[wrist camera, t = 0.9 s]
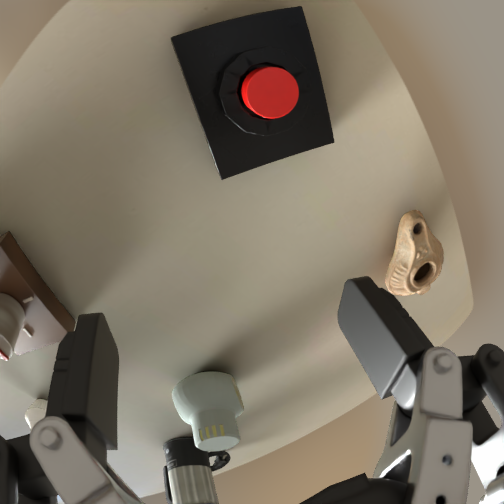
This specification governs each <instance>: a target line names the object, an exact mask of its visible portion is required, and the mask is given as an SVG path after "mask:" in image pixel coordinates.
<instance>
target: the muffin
mask: <svg viewBox="0 0 504 504" xmlns="http://www.w3.org/2000/svg"><path fill="white" fill-rule="evenodd" d="M47 402H48V401H46V400H44V399H37V400H36V401H35V402H34V403H33V404H32V405H31V406H30V407H29V408H28V410H27V411H26V413H25V418H26V421H27V423H28V424H29V427H30V428H31V429H30V431H31V430H32V428H33V427H34V425H35V424H36V423H37V422H38V421H39V420H41V419H43V418H44V417H45V414H46V409H47Z"/></svg>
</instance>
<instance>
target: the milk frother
mask: <svg viewBox="0 0 504 504" xmlns="http://www.w3.org/2000/svg"><path fill="white" fill-rule="evenodd" d="M163 449H164V451H165V457H166V462H167V466H164V468H163V471H164V483H165V493H166V499H167V503H168V504H219V502H218V498H217V494H216V489H215V485H214V480H213V476H212V471H215V470H218V469H220V468H222V467H224V466H225V465H226V464H227V463H228V462H229V461H230V455H229V454H228V453H227V452H224V451H213V452H208V451H203V450H200V449H199V448H197V447H196V446H195V441H194V438H178V439H173V440H170V441H168V442H166V443H165V444H164V445H163ZM212 456H217V457H216V460H215V461H214V462H215V463H214V464H213V466H210V462H209V457H212Z"/></svg>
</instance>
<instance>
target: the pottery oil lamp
mask: <svg viewBox="0 0 504 504" xmlns="http://www.w3.org/2000/svg"><path fill="white" fill-rule="evenodd" d="M443 254H444V252H443V248H442V245H441V243H440V241H439V240H438V239H436V238H435V237H434V236H433V234H432V233H431V231H430V230H429V228H428V226H427V224H426V222H425V220H424V218H423V215H422V213H421V212H420V211H417V210H412V211H409V212H407V213H406V214H404V215H403V217H402V218H401V221H400V223H399V227H398V233H397V239H396V245H395V249H394V253H393V256H392V259H391V261H390V264H389V267H388V270H387V273H386V278H385V284H386V286H387V288H388V290H389V291H390V292H391V293H392V294H395V295H400V296H402V295H403V296H406V295H411V294H415V293H416V292H417V293H418V294H419V295H423V294H424V293H426V292H427V291H429V289H430V284H431V283H432V282H434V281H435V280H436V278H437V277H438V276H439V274H440V272H441V269H442V264H443V259H444V256H443Z"/></svg>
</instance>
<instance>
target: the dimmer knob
mask: <svg viewBox="0 0 504 504" xmlns="http://www.w3.org/2000/svg"><path fill="white" fill-rule="evenodd" d="M24 319H25V313H24V310H23V308H22V306H21V305H20V303H19V302H18V301H17V300H16V299H14V298H13V297H11V296H9V295H7V294H4V293H0V358H1V359H4V360H5V361H7V360H9V358H10V357H11V356H12V354H13V351H14V348H15V345H16V342H17V339H18V336H19V333H20V331H21V328H22V325H23V322H24Z"/></svg>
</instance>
